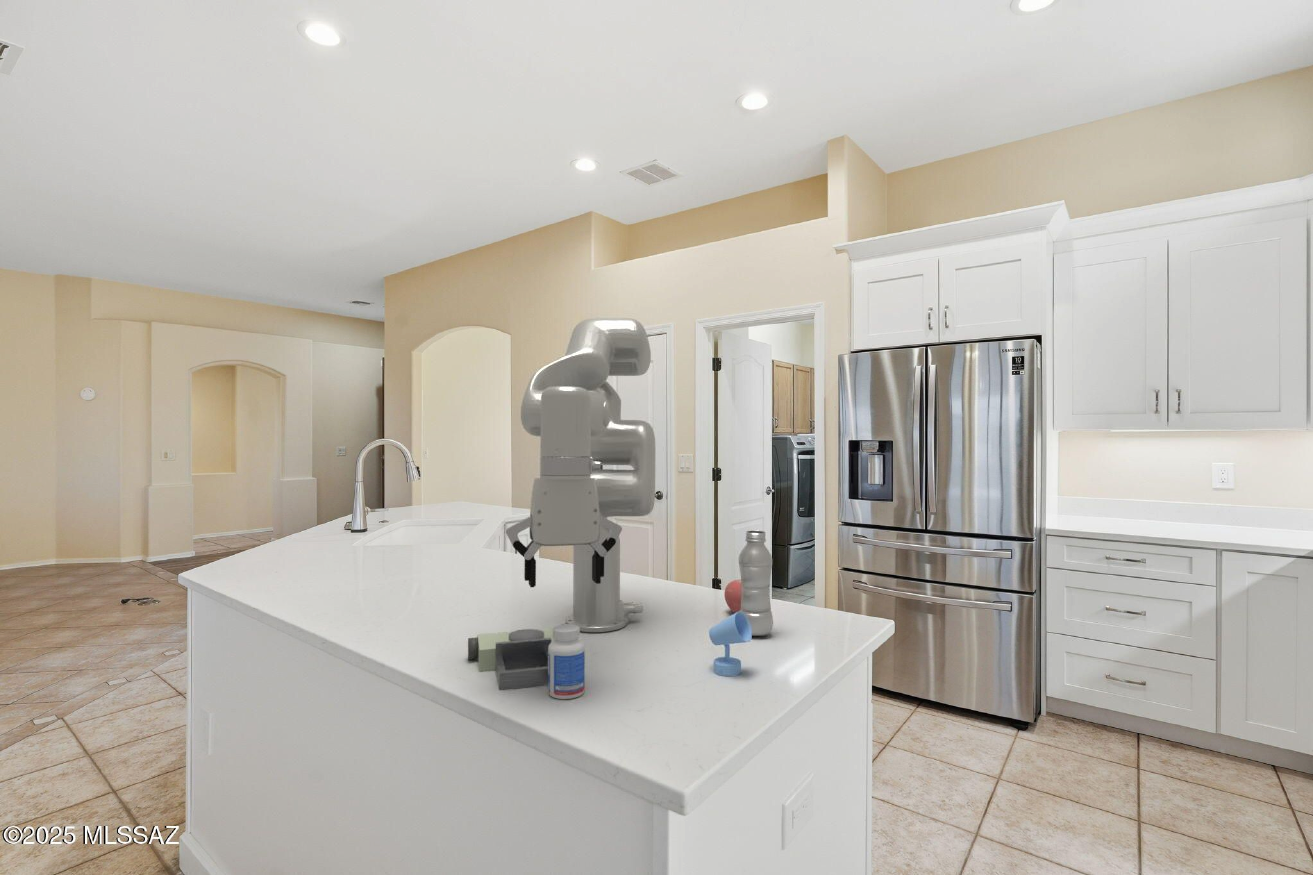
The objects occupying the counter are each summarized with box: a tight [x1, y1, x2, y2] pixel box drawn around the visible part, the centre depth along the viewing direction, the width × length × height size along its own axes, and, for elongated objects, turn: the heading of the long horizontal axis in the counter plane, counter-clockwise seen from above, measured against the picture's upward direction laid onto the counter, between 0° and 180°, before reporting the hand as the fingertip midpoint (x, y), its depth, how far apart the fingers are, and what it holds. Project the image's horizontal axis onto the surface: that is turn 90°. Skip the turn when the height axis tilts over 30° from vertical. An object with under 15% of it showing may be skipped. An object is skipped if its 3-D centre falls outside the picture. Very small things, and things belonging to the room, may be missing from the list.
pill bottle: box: [547, 624, 586, 700], centre depth 98 cm, size 6×5×10 cm
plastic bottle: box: [738, 530, 774, 637], centre depth 127 cm, size 6×7×20 cm
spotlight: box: [708, 611, 753, 677], centre depth 107 cm, size 5×10×7 cm
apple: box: [724, 579, 742, 614], centre depth 143 cm, size 7×7×8 cm
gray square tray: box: [494, 638, 551, 691], centre depth 105 cm, size 9×9×4 cm
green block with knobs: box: [467, 627, 554, 672], centre depth 113 cm, size 17×9×4 cm, turn 107°
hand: (564, 583), depth 98 cm, fingers open, 9 cm apart
